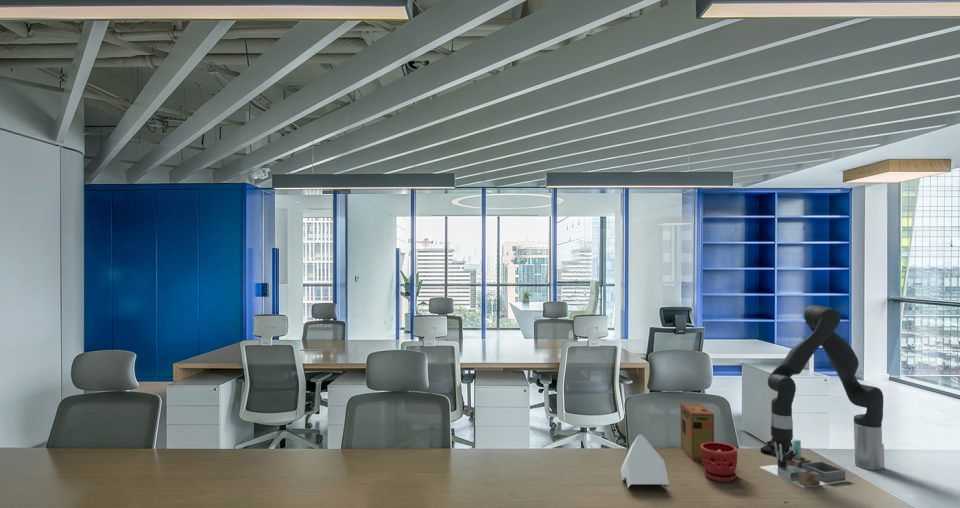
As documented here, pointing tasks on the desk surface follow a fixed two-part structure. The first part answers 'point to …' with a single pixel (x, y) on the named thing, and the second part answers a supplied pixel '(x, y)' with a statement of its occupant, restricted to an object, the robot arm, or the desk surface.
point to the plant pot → (719, 461)
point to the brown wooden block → (809, 479)
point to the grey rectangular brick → (790, 472)
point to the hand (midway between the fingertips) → (782, 469)
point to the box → (695, 429)
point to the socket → (797, 462)
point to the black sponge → (766, 450)
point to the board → (774, 470)
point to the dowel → (797, 448)
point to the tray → (825, 471)
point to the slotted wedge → (643, 465)
